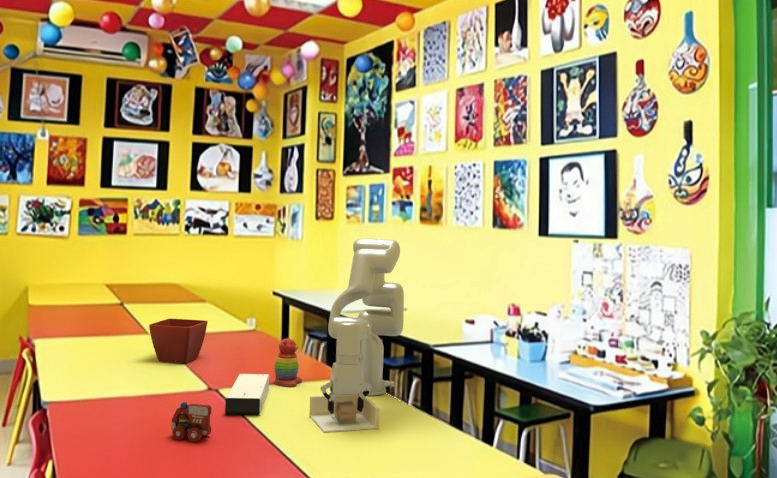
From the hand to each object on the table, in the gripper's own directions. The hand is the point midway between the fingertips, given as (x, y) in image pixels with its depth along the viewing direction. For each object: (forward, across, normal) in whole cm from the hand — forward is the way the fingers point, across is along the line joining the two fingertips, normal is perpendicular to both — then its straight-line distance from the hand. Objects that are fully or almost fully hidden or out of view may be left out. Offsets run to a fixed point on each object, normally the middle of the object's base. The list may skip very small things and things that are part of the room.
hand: (345, 411), depth 219 cm
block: (+3, 0, 0) cm, 3 cm away
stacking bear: (+4, +8, -54) cm, 54 cm away
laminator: (+4, +27, -31) cm, 41 cm away
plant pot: (+4, +46, -104) cm, 113 cm away
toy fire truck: (+4, +48, +4) cm, 49 cm away
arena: (+4, 0, 0) cm, 4 cm away
